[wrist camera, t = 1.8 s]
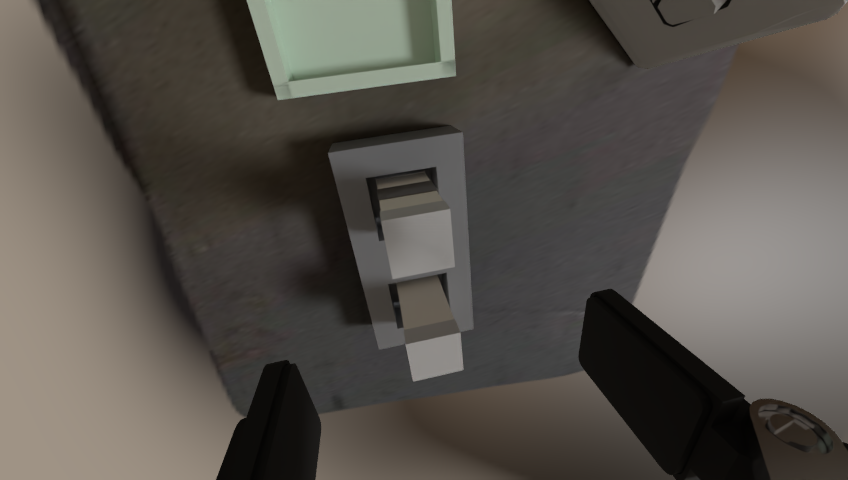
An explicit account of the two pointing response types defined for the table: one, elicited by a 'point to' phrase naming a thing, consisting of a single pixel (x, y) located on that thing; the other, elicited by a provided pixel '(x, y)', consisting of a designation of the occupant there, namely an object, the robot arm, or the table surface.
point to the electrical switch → (702, 24)
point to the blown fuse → (414, 224)
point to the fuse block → (361, 210)
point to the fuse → (429, 328)
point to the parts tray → (353, 43)
